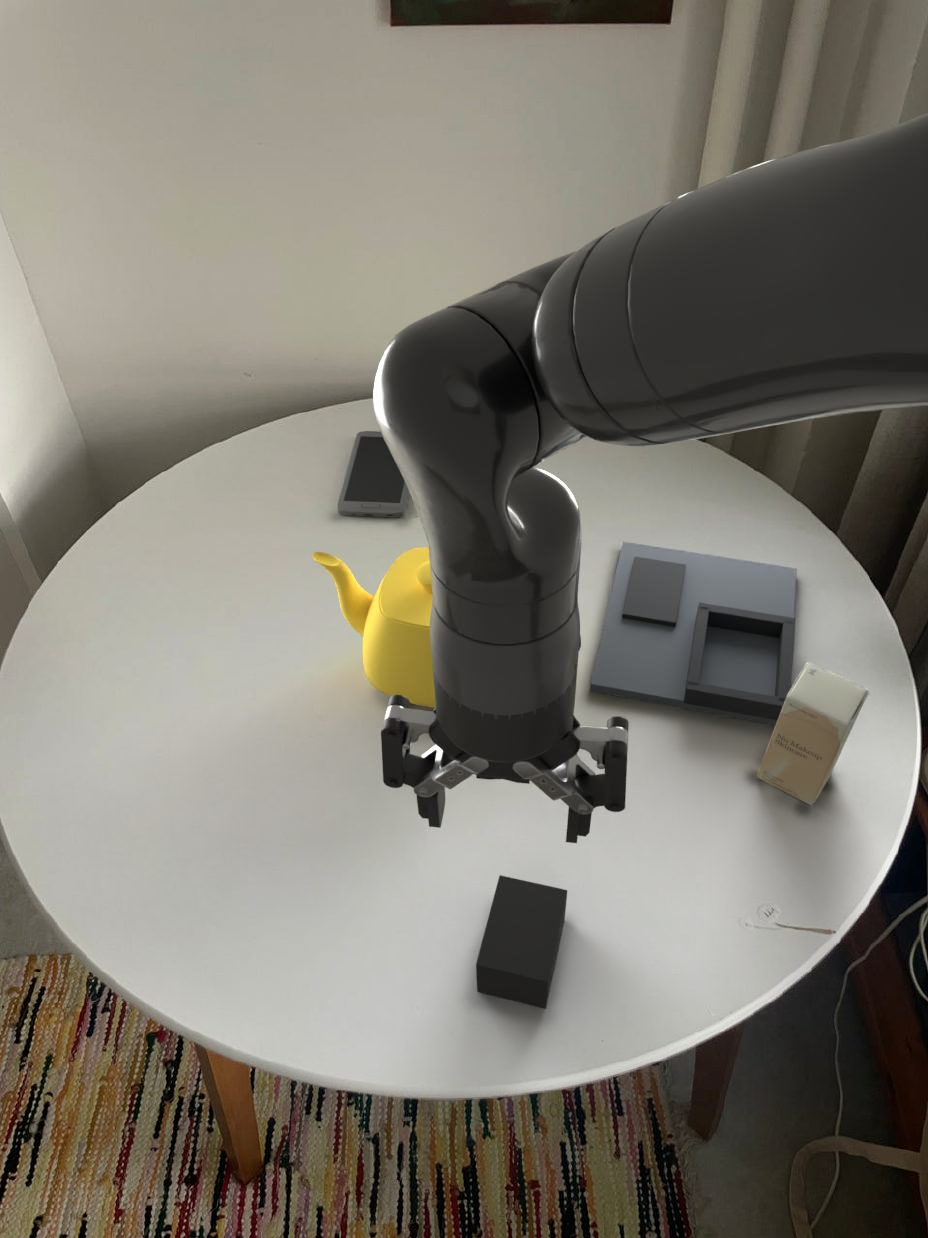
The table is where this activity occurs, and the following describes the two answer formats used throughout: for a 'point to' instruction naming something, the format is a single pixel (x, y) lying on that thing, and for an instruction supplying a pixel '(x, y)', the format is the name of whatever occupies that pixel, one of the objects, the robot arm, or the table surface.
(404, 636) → the teapot
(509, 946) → the black block
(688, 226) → the robot arm
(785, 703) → the box
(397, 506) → the cell phone
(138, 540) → the table surface
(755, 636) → the base pad
